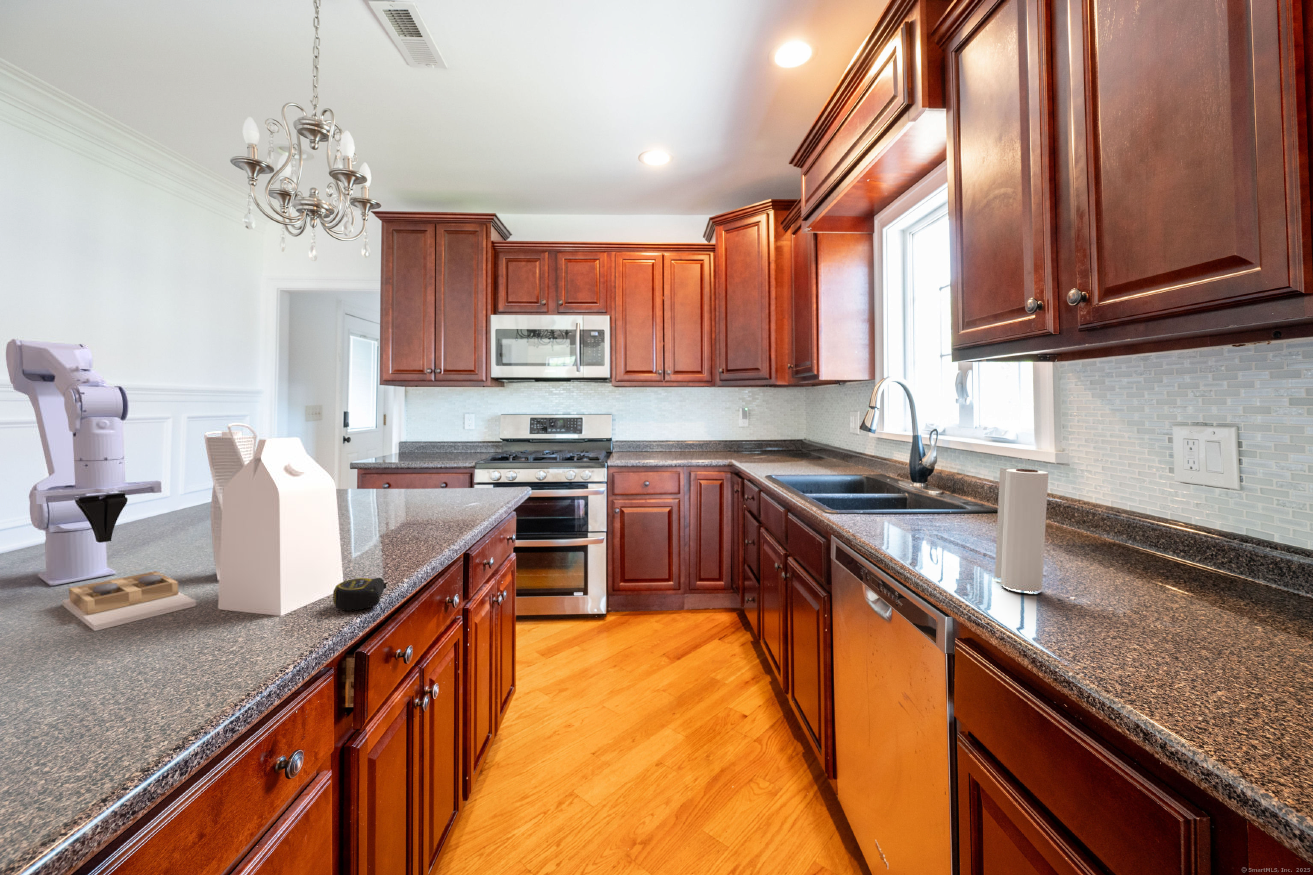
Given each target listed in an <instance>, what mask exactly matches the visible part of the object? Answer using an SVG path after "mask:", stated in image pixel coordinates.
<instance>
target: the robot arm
mask: <svg viewBox="0 0 1313 875" xmlns="http://www.w3.org/2000/svg"><path fill="white" fill-rule="evenodd" d="M5 360H6V368H7V372H8V378H9V382H10V383H11V384H12V388H13V390H14V391H16V392H18V393H21V394H24V395H25V396H27V397H28V399H29V401H30V403H31V406H32V408H33V411H34V414H35V419H36V423H37V424H36V425H37V428H38V433H39V437H40V442H41V445H42V451H43V456H44V460H45V464H46V469H47V473H48V476H47V477H45V478H44V479H42V480H40V481H38V482H37V483H35V484H34V485H33V486H32V487H31V490H30V491H29V495H28V499H29V518H30V521H31V525H32V526H33V527H34V528H36V529H37V530H39V531H43V532H45V540H44V551H45V569H46V570H45V572H41V573H38V574H37V575H38V576H37V577H38V578H40V579H41V580H43V581H44V582H45V583H46V584H48V585H49V586H52V587H53V586H56V585H57V586H58V585H62V584H63V585H64V584H68V583H73V582H74V583H75V582H79V581H84V580H90V579H95V578H100V577H106V576H111V575H115V574H116V572H117V571H115V569H112V568H111V567H109V566H108V555H107V542H112V538H113V534H114V528H115V527H116V524H117V521H118V519H119V518H120V515H121V513H122V511H123V510H124V508H125V507H126V506H127V503H128V497H126V496H130V495H131V496H132V495H141V494H142V495H143V494H152V493H153V494H157V493H162V492H163V491H162V481H160V480H151V481H135V482H132V481H131V482H126V471H125V447H124V445H125V444H124V442H125V441H124V423H123V421H126V420H127V418H128V415H129V408H130V407H129V403H130V402H129V397H128V394H127V391H126V390H125V388H124V387H123V386H122V385H114V386H110V385H109V383H108V382H107V381H106V380H105V379H104V377H103V376H102V374H100V373H99V372H98V371H97V370H95V369H93V354H92V351H91V349H90V348H89V347H88V346H87V345H86V344H83V343H79V344H75V343H73V344H72V343H59V342H50V341H49V342H48V341H47V342H45V341H32V340H19V339H18V338H12V339H10V340H9V341H8V342H7V344H6V347H5Z"/></svg>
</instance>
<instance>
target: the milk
mask: <svg viewBox="0 0 1313 875" xmlns="http://www.w3.org/2000/svg"><path fill="white" fill-rule="evenodd" d="M338 510H339V509H338V499H337V487H336V483H335V481H334V479H333V478H332V477H331V475H330V474H329V473H328V472H327V470H325V469H324V468H323V467H321V465H320V464H318V463H317V462H316V461H315V460H314V459H313V458H312V457H311V456H309V454H307V452H306V449H305V447H304V444H303V443H302V441H301V439H300V437H297V436H294V437H279V438H277V437H276V438H261V439H260V438H259V439H258V442H257V443H256V447H255V454H254V458H253V459H251V460H250V461H249V462H248V463H247V464H246V465H245V466H244V467H243V468H242V469H241V470H240V471H239V472H238V473H237V474H236V475H235V476H234V477H233V478H232V479H231V480H230V481H229V482H228V483H227V485H226V486H225V489H224V491H223V503H222V527H221V552H220V576H219V582H218V583H219V584H218V605H217V609H218V610H223V611H224V610H225V611H233V612H243V613H252V614H259V615H260V614H263V615H270V616H284V615H287V614H289V613H291V612H293V611H295V610H299V609H300V608H302V607H303V608H304V607H305V606H308V605H310V604H311V603H314V602H317V601H319V600H321V599H323V598H326V597H329V596H331V595H333V592H334V589H335V587H336V586H337V585H338V584H340V583H341V582H344V575H343V571H344V570H343V558H342V548H341V546H342V545H341V537H340V535H341V533H340V523H339V522H340V521H339V511H338Z"/></svg>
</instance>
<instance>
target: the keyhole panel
mask: <svg viewBox="0 0 1313 875" xmlns="http://www.w3.org/2000/svg"><path fill="white" fill-rule="evenodd" d="M149 575H161V580H160V581H157V582H156V585H152V586H147V587H145V584H140V583H139V578H141V577H144V576H149ZM110 583H117V584H118V589H116V590H113V591H112V594H109V595H104V596H100V593H93V587H96V586H99V585H103V584H110ZM68 592H69V594H68V596H69V599H70V601H71V602H72V603H73V604H75V605H76V606H77V607H79V608H80V609H81V610H83V611H84V612H85V613H86V614H88V615H89V614H94V613H98V612H103V611H107V610H111V609H116V608H120V607H125V606H129V605H133V604H138V603H142V602H147V601H151V600H155V599H160V598H164V597H169V596H173V595H177V594H178V592H179V581H177V580H174V579H172V578H171V577H168V576H167V575H165V574H163V573H160V572H158V571H150V572H144V573H141V574H140V573H139V574H134V575H130V576H124V577H120V578H119V577H118V578H114V579H109V580H108V579H107V580H104V581H103V580H102V581H98V582H93V583H89V584H82V585H76V586H72V587H68Z"/></svg>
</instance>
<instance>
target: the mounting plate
mask: <svg viewBox="0 0 1313 875" xmlns="http://www.w3.org/2000/svg"><path fill="white" fill-rule="evenodd" d="M160 580H161V575H149V576H144V577H141V578H139V583H140V584H145V587H147V586H152V585H156V582H157V581H160ZM116 589H118V584H117V583H110V584H103V585H99V586H96V587H93V593H100V596H104V595H109V594H112V591H113V590H116ZM61 603H62V606H63V607H64V608H65V609H67V611H68V612H70V613H72V615H74V616H75V617H76V618H77V619H79V620H80V621H81V622H83V623H84V624H85V625H87V626H88V627H89V628H90V629H91V630H93V631H94V632H97V631H100V630H104V629H109V628H112V627H116V626H117V627H118V626H120V625H125V624H128V623H133V622H137V621H141V620H144V619H145V620H146V619H149V618H152V617H157V616H162V615H165V614H169V613H173V612H178V611H180V610H185V609H189V608H194V607H197V600H195V599H193V598H191V597H190V596H187V595H186V594H183V593H181V592H180V591H178V594H177V595H173V596H169V597H164V598H160V599H155V600H151V601H147V602H142V603H138V604H133V605H129V606H125V607H120V608H116V609H111V610H107V611H103V612H98V613H94V614H89V615H88V614H86V613H85V612H84V611H83V610H81V609H80V608H79V607H77V606H76V605H75V604H73V603H72V602H71V601H70V598H68V599H63V600H62V602H61Z"/></svg>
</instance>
